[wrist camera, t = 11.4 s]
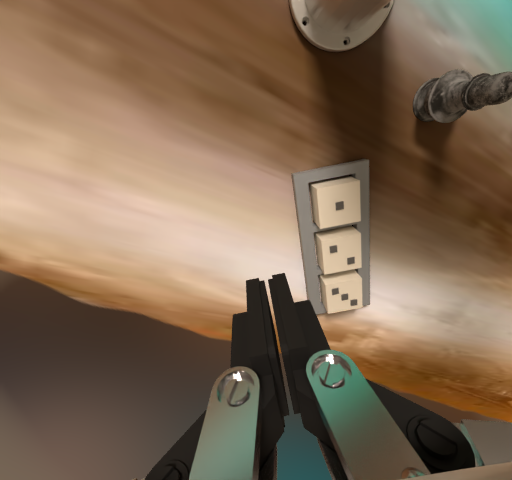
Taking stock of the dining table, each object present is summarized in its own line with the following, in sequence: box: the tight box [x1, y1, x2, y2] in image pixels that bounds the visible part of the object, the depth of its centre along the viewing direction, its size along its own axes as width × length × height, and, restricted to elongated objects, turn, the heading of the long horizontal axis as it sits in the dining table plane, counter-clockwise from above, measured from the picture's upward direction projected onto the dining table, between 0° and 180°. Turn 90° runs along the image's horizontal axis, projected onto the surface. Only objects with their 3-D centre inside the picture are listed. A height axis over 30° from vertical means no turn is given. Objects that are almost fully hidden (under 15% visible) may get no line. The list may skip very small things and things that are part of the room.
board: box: [292, 159, 370, 315], centre depth 42 cm, size 11×26×2 cm, turn 11°
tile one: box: [309, 176, 361, 229], centre depth 37 cm, size 6×6×4 cm
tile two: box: [314, 225, 362, 275], centre depth 40 cm, size 6×6×4 cm
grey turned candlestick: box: [413, 69, 512, 123], centre depth 29 cm, size 6×6×12 cm
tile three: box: [319, 269, 363, 314], centre depth 44 cm, size 6×6×4 cm
